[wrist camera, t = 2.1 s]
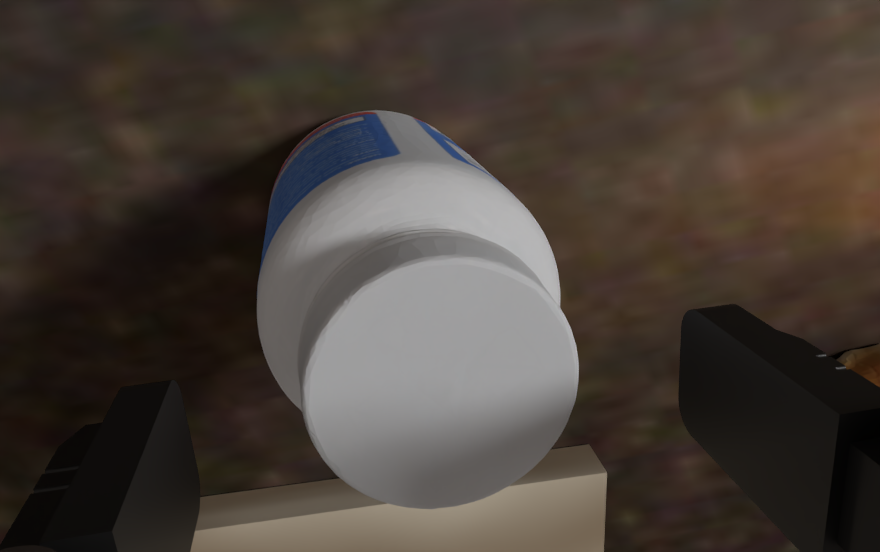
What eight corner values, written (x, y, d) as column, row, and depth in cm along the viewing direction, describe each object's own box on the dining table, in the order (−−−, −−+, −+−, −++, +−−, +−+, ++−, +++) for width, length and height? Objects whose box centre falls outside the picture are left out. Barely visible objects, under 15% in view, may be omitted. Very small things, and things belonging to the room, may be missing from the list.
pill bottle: (265, 301, 19) (226, 553, 10) (276, 96, 18) (239, 184, 9) (465, 312, 21) (585, 549, 12) (493, 119, 19) (660, 220, 10)
